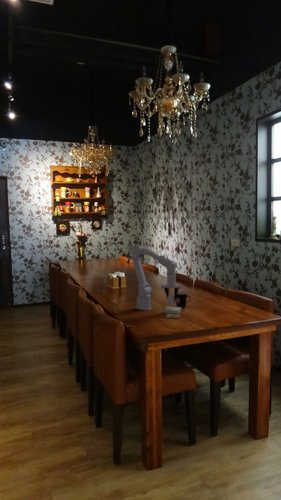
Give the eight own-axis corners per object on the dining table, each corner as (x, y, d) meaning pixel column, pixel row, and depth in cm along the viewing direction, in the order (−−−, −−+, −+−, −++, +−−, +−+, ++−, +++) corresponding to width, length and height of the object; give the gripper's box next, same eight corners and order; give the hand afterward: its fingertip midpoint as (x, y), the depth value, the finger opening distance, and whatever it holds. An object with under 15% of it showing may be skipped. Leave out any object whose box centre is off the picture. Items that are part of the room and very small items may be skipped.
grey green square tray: (163, 312, 221) (163, 309, 221) (167, 309, 231) (167, 306, 231) (178, 313, 218) (178, 310, 218) (181, 310, 228) (181, 307, 228)
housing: (169, 301, 228) (169, 294, 228) (175, 301, 227) (175, 294, 226) (167, 303, 221) (167, 296, 221) (173, 304, 220) (173, 296, 220)
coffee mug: (172, 306, 239) (172, 292, 239) (183, 305, 242) (183, 291, 242) (180, 309, 229) (180, 295, 228) (191, 308, 232) (191, 294, 231)
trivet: (166, 318, 207) (166, 317, 207) (166, 315, 215) (166, 314, 215) (179, 318, 207) (179, 317, 207) (178, 315, 215) (178, 313, 215)
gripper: (159, 279, 221) (159, 300, 222) (181, 280, 217) (181, 301, 218) (161, 278, 227) (162, 298, 228) (182, 278, 224) (183, 298, 225)
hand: (171, 299), depth 223 cm, fingers closed on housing, 4 cm apart
